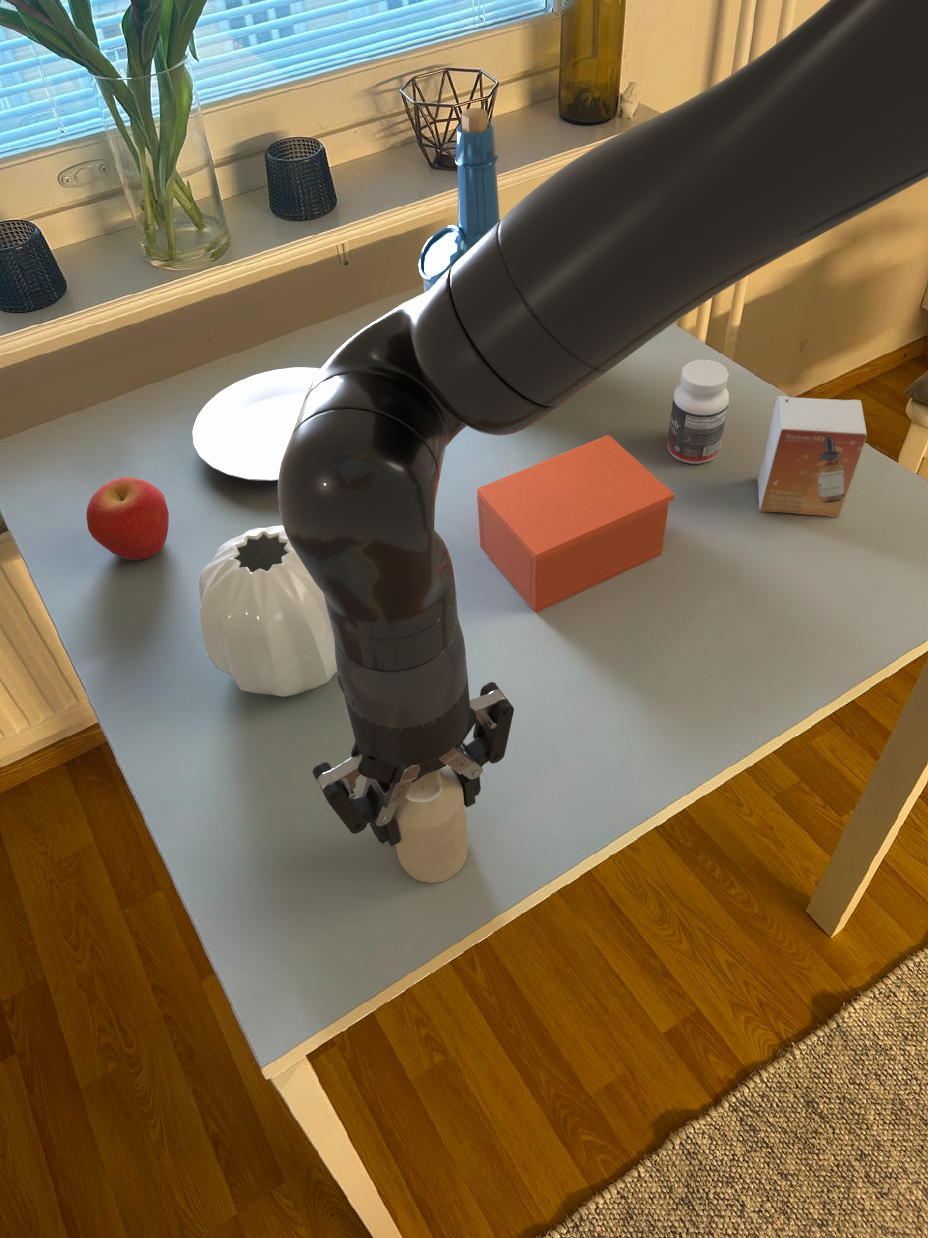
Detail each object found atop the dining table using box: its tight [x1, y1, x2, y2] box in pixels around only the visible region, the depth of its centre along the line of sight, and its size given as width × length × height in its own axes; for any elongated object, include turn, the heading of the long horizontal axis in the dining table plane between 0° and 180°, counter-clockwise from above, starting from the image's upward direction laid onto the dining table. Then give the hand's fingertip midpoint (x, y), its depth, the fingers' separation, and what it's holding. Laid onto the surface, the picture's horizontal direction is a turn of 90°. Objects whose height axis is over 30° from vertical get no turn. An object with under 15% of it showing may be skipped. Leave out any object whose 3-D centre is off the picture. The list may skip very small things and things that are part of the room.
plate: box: [192, 366, 321, 482], centre depth 107 cm, size 21×21×2 cm
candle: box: [393, 765, 470, 884], centre depth 68 cm, size 6×6×10 cm
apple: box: [85, 476, 170, 561], centre depth 94 cm, size 8×8×8 cm
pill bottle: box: [666, 359, 730, 465], centre depth 99 cm, size 6×6×10 cm
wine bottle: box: [418, 107, 501, 293], centre depth 102 cm, size 14×13×30 cm
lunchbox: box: [476, 495, 670, 613], centre depth 90 cm, size 15×11×7 cm
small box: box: [757, 395, 868, 518], centre depth 92 cm, size 8×6×10 cm
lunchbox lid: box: [476, 434, 675, 561], centre depth 88 cm, size 15×11×1 cm
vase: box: [198, 525, 338, 698], centre depth 81 cm, size 14×14×13 cm
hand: (427, 814), depth 68 cm, fingers closed on candle, 5 cm apart
